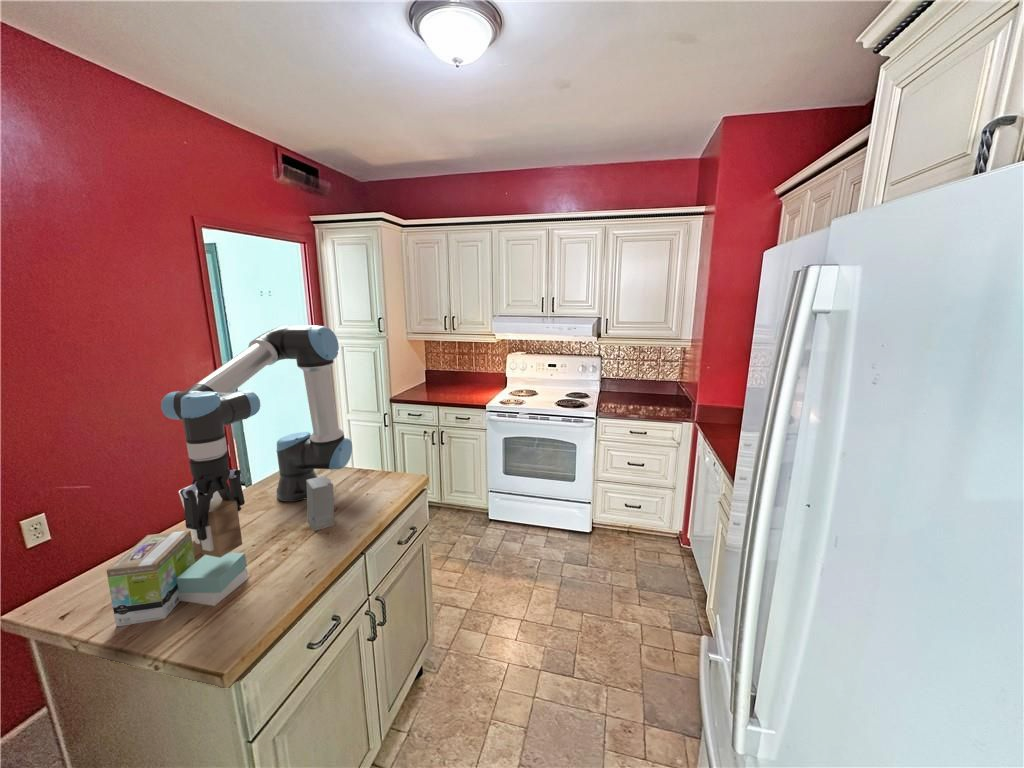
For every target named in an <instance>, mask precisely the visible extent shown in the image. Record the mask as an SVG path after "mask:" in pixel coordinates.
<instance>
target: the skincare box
mask: <svg viewBox="0 0 1024 768" xmlns="http://www.w3.org/2000/svg"><path fill="white" fill-rule="evenodd" d="M306 484H307V498H306V507H307V508H306V509H307V523H308V525H309V524H310V525H309V526H311V527H312V528H311V527H310V528H311V529H312V531H314V532H317V530H318V531H321V530H323V529H322V528H324V529H326V528H325V527H327V528H329V527H332V526H334V525H335V504H334V484H333V482H332V481H331V479H330V478H329V477H328V476H327V475H323V476H317V478H312V479H308V480H306ZM333 524H334V525H333ZM331 525H332V526H331ZM328 526H329V527H328ZM320 529H321V530H320Z"/></svg>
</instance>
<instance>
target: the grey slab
mask: <svg viewBox="0 0 1024 768" xmlns="http://www.w3.org/2000/svg"><path fill="white" fill-rule="evenodd" d="M248 579H249V574H248V569H247V567H246V568H245V569H244V570H243V571H242V572H241V573H240V574H239V575H238V576H237V577H236V578H235V579H234V580H233V581H232V582H231V583H230V584H229V585H228V586H227V587H226V588H225V589H224V590H223V591H222V592H221V593H179V596H180V601H179V602H187V603H193V604H200V605H207V606H212V607H213V606H214V607H215V606H217V605H218V604H219V603H220V602H221V601H222V600H224V599H225V598H226V597H228V596H229V595H230V594H231V593H232V592H234V591H235V590H236V589H238V587H239V586H241V585H242V584H243V583H244V582H246V581H247V580H248Z"/></svg>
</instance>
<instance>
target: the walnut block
mask: <svg viewBox="0 0 1024 768" xmlns="http://www.w3.org/2000/svg"><path fill="white" fill-rule="evenodd" d="M207 525H210V527H211V534H212V540H213V547H214V550H213V551H206V550H203V549H202V543H201V540H200V544H199V546H200V552H201V553H200V554H202V555H209V556H214V557H219V558H221V557H222V556H224V555H226V554H227V553H231V552H233V551H234V550H235V549H237V548H239V547H240V546H241V545H243V539H242V538H243V537H242V532H241V524H240V517H239V511H238V508H237V501H232V500H231V501H227V500H222V499H219V498H218V499H216V500H214V501H212V502H210V507H209V511H208V520H207Z"/></svg>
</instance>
